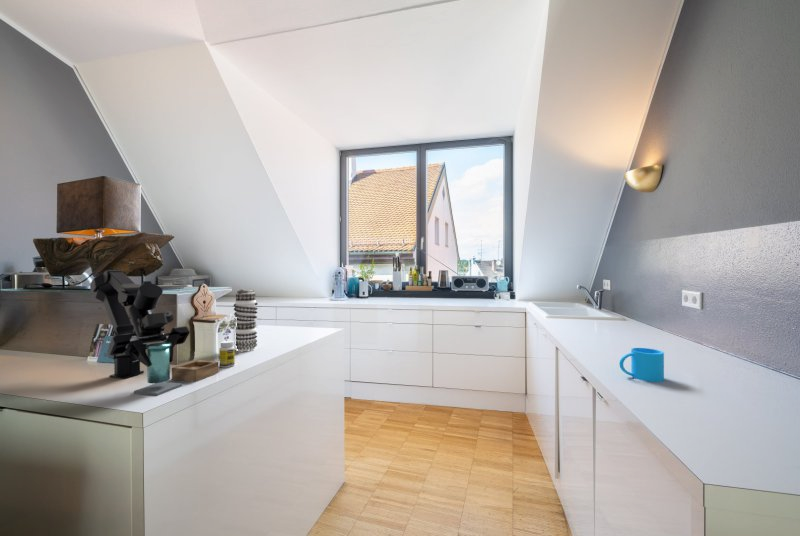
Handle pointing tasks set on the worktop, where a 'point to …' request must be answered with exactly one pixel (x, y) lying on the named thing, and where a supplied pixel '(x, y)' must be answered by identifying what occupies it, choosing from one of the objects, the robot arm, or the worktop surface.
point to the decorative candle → (245, 319)
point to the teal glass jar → (158, 362)
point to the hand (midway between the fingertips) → (160, 363)
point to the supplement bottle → (226, 354)
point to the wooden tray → (195, 370)
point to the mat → (158, 388)
